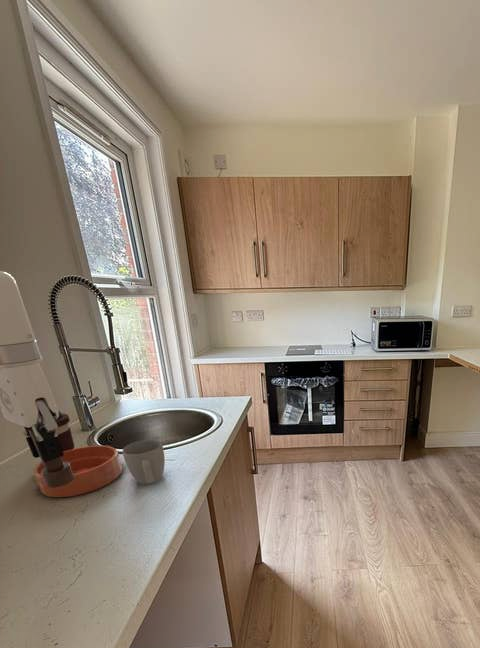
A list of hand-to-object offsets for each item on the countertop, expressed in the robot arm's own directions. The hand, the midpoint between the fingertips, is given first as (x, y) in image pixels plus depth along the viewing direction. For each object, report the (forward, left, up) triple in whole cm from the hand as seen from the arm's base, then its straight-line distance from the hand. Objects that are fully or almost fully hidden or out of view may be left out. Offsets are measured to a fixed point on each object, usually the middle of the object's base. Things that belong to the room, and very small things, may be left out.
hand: (48, 455), depth 63 cm
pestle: (0, 0, -6) cm, 6 cm away
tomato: (+11, +18, -15) cm, 26 cm away
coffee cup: (+14, +37, -18) cm, 43 cm away
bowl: (+12, +21, -17) cm, 30 cm away
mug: (+19, +4, -18) cm, 27 cm away
